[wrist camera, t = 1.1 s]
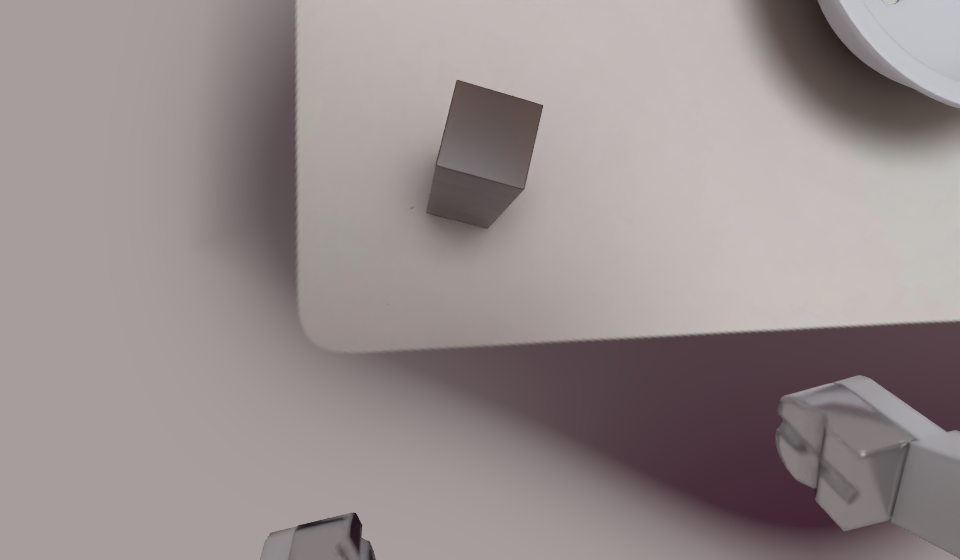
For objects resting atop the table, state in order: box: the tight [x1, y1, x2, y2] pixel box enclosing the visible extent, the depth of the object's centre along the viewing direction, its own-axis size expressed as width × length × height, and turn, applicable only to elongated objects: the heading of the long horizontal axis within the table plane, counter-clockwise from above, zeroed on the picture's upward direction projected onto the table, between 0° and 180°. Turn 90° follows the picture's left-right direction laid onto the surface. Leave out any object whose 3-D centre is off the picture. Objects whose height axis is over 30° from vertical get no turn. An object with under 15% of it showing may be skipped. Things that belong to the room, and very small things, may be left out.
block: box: [426, 80, 543, 228], centre depth 27 cm, size 4×4×10 cm
